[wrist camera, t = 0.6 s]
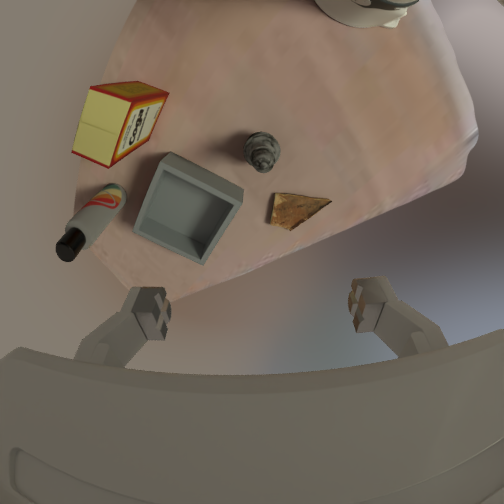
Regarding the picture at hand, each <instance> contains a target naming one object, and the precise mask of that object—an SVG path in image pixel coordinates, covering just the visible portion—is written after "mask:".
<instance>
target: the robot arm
mask: <svg viewBox="0 0 504 504" xmlns="http://www.w3.org/2000/svg"><path fill="white" fill-rule="evenodd" d="M418 1H419V0H315V2H316V3H317V5H318V6H319V7H320V8H321V9H322V10H323V11H324V12H325V13H326V14H327V15H329V16H330V17H332V18H333V19H335V20H337V21H338V22H340V23H343V24H345V25H348V26H352V27H358V28H368V27H374V26H381V27H385V28H389V29H393V28H395V27H396V26H397V24H398V22H399V20H400V18H401V17H403V16H405V15H406V14H407V12H406V11H407V9H408V7H410V6H412V5H414V4H415V3H417V2H418ZM498 1H499V2H500V3H501V4H502V5H503V6H504V0H498ZM351 287H352V291H351V292H350V293H349V297H348V307H349V312H350V314H351V315H352V316H353V317H354V319H353V324H354V327H355V330H356V333H363V332H373V331H374V333H375V334H376V335H377V336H378V337H379V338H380V339H381V340H382V341H383V342H384V343H385V344H386V345H387V346H388V347H389V348H390V349H391V350H392V351H393V352H394V353H395V354H396V355H398V358H397V359H393V360H388V361H383V362H377V363H371V364H365V365H359V366H352V367H346V368H338V369H330V370H321V371H311V372H299V373H287V374H266V375H198V374H178V373H165V372H153V371H143V370H135V369H127V368H125V365H126V364H127V363H128V362H129V361H130V360H131V359H132V358H133V357H134V355H135V354H136V353H137V352H138V351H139V350H140V349H141V348H142V347H143V346H144V344H145V343H146V342H147V340H165V337H166V333H167V330H168V328H167V326H166V324H167V323H168V322H169V321H170V318H171V305H170V302H169V300H167V299H166V298H165V297H166V294H167V293H166V291H165V288H163V287H132V288H131V289H130V291H129V293H128V295H127V298H126V300H125V302H124V304H123V307H122V309H121V311H120V312H117V313H115V314H114V315H113V316H112V317H110V318H109V319H108V320H106V321H105V322H104V323H103V324H101V325H100V326H99V327H97V328H96V329H95V330H94V331H92V332H91V333H90V334H89V335H87V336H86V337H85V338H84V339H82V341H81V343H80V345H79V348H78V350H77V352H76V354H75V357H74V359H73V360H72V359H68V358H63V357H58V356H55V355H50V354H46V353H42V352H38V351H34V350H31V349H28V348H24V347H18V348H16V349H14V350H13V351H11V352H10V353H8V354H7V355H6V356H4V357H3V358H2V359H1V360H0V504H504V329H499V330H496V331H493V332H491V333H488V334H485V335H482V336H480V337H477V338H474V339H471V340H468V341H464V342H461V343H458V344H454V345H451V346H448V343H447V341H446V339H445V337H444V335H443V333H442V331H441V329H440V327H439V326H438V325H436V324H435V323H434V322H432V321H430V320H429V319H428V318H426V317H425V316H423V315H422V314H421V313H419V312H417V311H416V310H415V309H413V308H412V307H410V306H409V305H407V304H406V303H404V302H403V301H399V300H398V298H397V297H396V294H395V293H394V291H393V289H392V287H391V285H390V283H389V281H388V279H387V278H386V277H385V276H378V277H370V278H358V279H353V281H352V284H351Z"/></svg>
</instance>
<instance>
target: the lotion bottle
mask: <svg viewBox="0 0 504 504" xmlns="http://www.w3.org/2000/svg"><path fill="white" fill-rule="evenodd" d="M126 198H127V197H126V193H125V191H124V189H123V188H122V187H121V186H120V185H118V184H114V183H112V184H109V185H107V186H105V187H104V188H103V189H102V190H101V191H100V192H99V193H97V194H96V195H95V196H94V197H93V198H92V199H91V200H90V201H89V202H88V203H87V204H86V205H85V206H84V207H83V208H82V209H81V210H80V211H78V212H77V213H76V214H75V215H74V216H73V218H72V219H71V220H70V221H69V222H68V223H67V225H66V228H65V232H66V233H65V234H64V235H63V236H62V238H61V239H60V240H59V241H58V242H57V244H56V253H57V255H58V256H59V258H60V259H61V260H63V261H65V262H71V261H73V260H74V259H75V257H76V256H77V255H78V253H79V252H80V251H81V250H86V249H88V248H90V247H91V246H92V244H93V243H94V242H95V241H96V239H97V238H98V237H99V235H100V234H101V233H102V232H103V230H104V229H105V228H106V227H107V225H108V224H109V223H110V222H111V220H112V219H113V218H114V217H115V216H116V214H117V213H118V212H119V211H120V210H121V208H122V207H123V206H124V205H125V203H126Z"/></svg>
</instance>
